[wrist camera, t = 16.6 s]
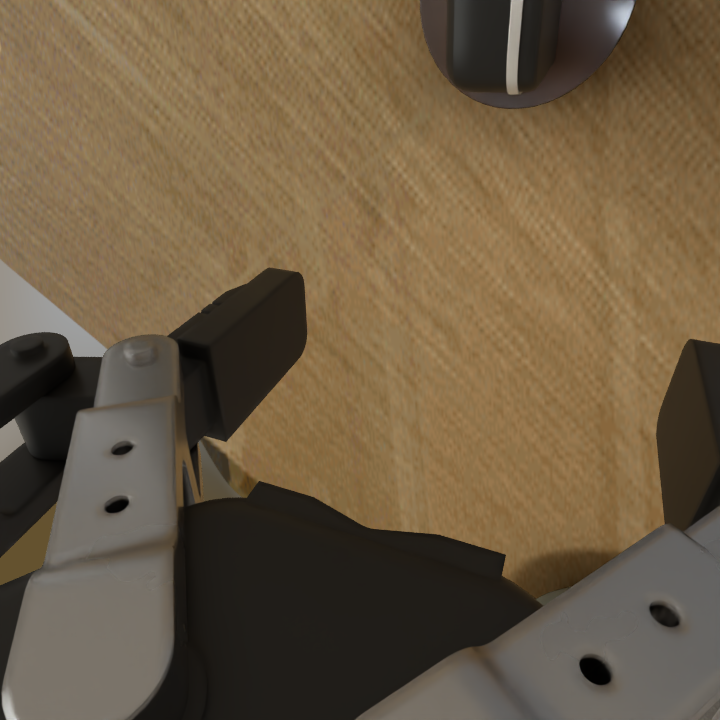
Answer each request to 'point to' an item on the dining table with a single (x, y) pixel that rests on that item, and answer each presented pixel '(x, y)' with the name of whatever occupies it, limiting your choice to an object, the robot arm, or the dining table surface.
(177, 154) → the dining table surface
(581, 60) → the brown round disc
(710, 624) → the robot arm
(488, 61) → the battery charger
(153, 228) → the dining table surface
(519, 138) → the dining table surface
